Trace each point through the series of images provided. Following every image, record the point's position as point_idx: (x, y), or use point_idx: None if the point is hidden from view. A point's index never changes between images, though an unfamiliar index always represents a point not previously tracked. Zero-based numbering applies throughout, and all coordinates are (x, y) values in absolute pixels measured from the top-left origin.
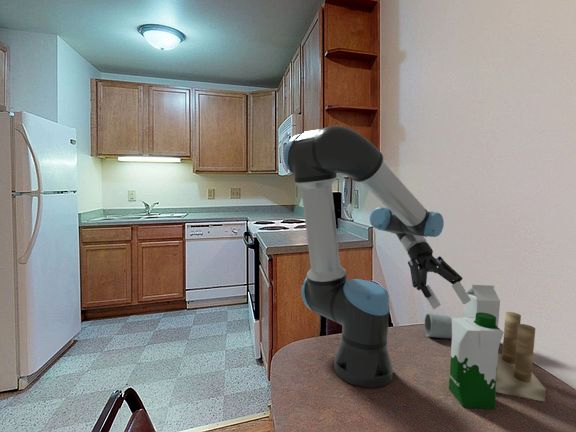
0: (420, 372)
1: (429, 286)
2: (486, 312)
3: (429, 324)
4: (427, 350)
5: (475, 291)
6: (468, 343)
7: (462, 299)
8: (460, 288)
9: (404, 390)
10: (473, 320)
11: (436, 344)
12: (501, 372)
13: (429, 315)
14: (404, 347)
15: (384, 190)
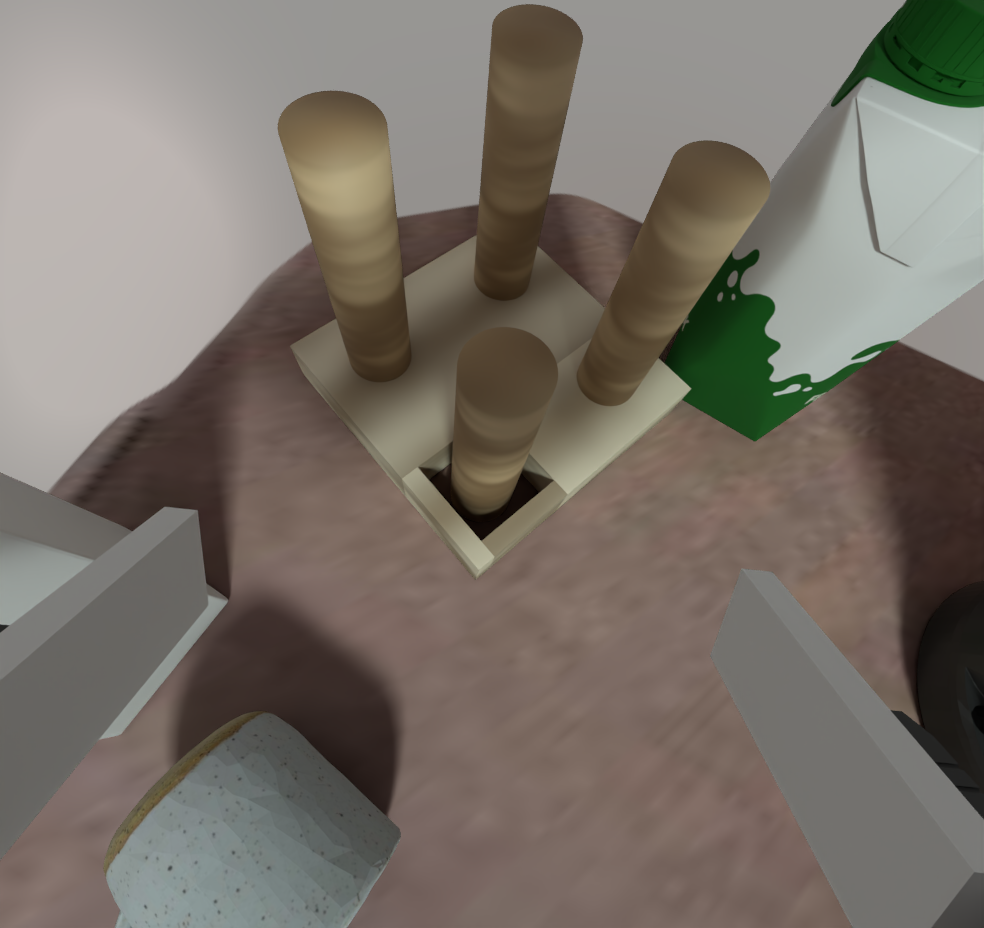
0: (777, 573)
1: (954, 833)
2: (19, 504)
3: None
4: (558, 712)
5: None
6: None
7: (172, 620)
8: (51, 662)
9: (932, 520)
10: (970, 112)
11: (429, 742)
12: (535, 332)
13: None
14: (665, 821)
15: None
